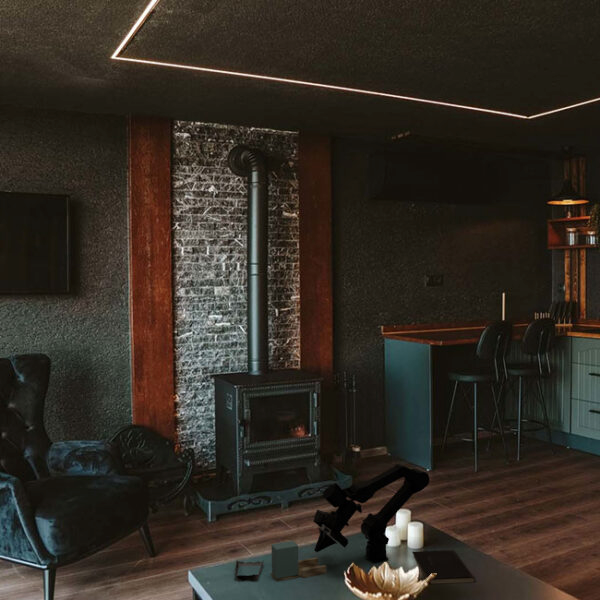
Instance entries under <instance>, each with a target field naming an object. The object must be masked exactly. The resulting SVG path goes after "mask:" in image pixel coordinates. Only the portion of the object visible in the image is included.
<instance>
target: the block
mask: <svg viewBox="0 0 600 600" xmlns="http://www.w3.org/2000/svg"><path fill="white" fill-rule="evenodd" d="M298 561H299V545H298V544H297V543H296V542H295V540H290V541H283V542H278V543H271V573H272V574H273V575H274V576H275V577H276V579H279V578H284V577H289V576H295V575H299V563H298Z"/></svg>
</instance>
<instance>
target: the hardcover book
mask: <svg viewBox="0 0 600 600" xmlns="http://www.w3.org/2000/svg"><path fill="white" fill-rule="evenodd" d="M412 554H413V558H414V560H415V561H416V563H417V565H418V567H419V568H420V571H421V572H422V575H423V576H424V578H425V579H426V578H427V577H428V576H429V575H430V574H431V573H437V575H436V577H435V578H434V579H433V580H432V581H431V584H430V585H432V584H433V585H434V584H436V585H437V584H458V583H462V584H463V583H476V578H475V576H474V575H473V573H472V572H471V571H470V570H469V568H468V567H467V565H466V564H465V563H464V561H463V560H462V559H461V558H460V555H458V553H457V552H456V550H455V549H450V550H425V551H412Z"/></svg>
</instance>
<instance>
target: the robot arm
mask: <svg viewBox="0 0 600 600" xmlns="http://www.w3.org/2000/svg"><path fill="white" fill-rule="evenodd" d="M402 478H404V480H403V483H402V484H403V485H402V486H401V487H400V488H399V489H398V490H397V491H396V492H395V493H394V494H393V495H392V497H391V498H390V499H389V500H388V501H387V502H386V503H385V504H384V505H383V507H382V508H381V509H380V510H379V511H378V512H377V513H375V514H373V513H371V512H370V513H368V514H367V516H366V517H365V518H364V519H362V523H361V524H360V532H361V534H362V535H363V536H364V538H365V539H366V540H367V541H366V546H365V554H364V557H365V558H366V557H367V558H366V559H368V560H369V561H370V562H371V563H374V564H375V563H380V562H384V561H389V557H387V546H388V544H389V541H390V538H389V537H387V535H386V534H385V532H386V531H387V526H388V523H389V522H390V521H391V519H393V517H394V516H395V515H396V514H397V513H398V512H400V510H401V508H403V507H404V505H405V504H406V503H407V502H408V500H409V499H410V498H412V496H413V495H414V494H417V493H419V492H422V491H423V490H425V488H426V487H428V486H429V484H430V475H429V474H428V472H425V471H423V470H421V469H419V468H416V467H415V468H409V467H407V466H405V465H402V464H400V463H397V464H395V465H394V466H392V467H391V468H389V469H387V470H385V471H384V472H382V473H380V474H378V475H376V476H374V477H372V478H370V479H368V480H361V481H358V482H355V483H352V484H351V485H350V486H348V487H346V488H341V487H340V485H339V484H337V482H334V483H333V484H331V485H330V486H328V487H326V488H325V489H324V491H323V493H322V498H323V499H324V500H325V501H327V502H328V503H329V504H330V505H331V506H332V507H333V508H335V509H336V508H337V509H336V510H335V511H334V510H332V511H330V512H328V511H323V510H320V509H316V512H315V514H314V517H313V521H312V522H313V523H314V524H316V525H317V526H318V528H317V529H318V532H319V536H318V539H317V541H316V544H315V546H314V551H315V552H316V553H319V552H321V551H323V550H325V549H327V548H328V547H331V546H332V545H333V546H334V545H337V544H338V543H339V544H340V545H341V546H342V547H343V548H344V549H345V548H346V547H347V546H348V544H349V539H348V538H347V537H346V536H344V535H343V533H342V530H344V527H348V526H349V525H350V523H349V521H350V520H351V519H352V518H353V516H354V514H355V513H356V512H358V513H360V514H362V513H363V510H362V504H365V503H367V502H368V501H369V500H371V499H372V498H373V496H374V495H375V493H377V492H378V491H380V490H381V489H383V488H385V487H387V486H389V485H390V484H392V483H394V482H396V481H398V480H400V479H402ZM356 502H357V503H356Z"/></svg>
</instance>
